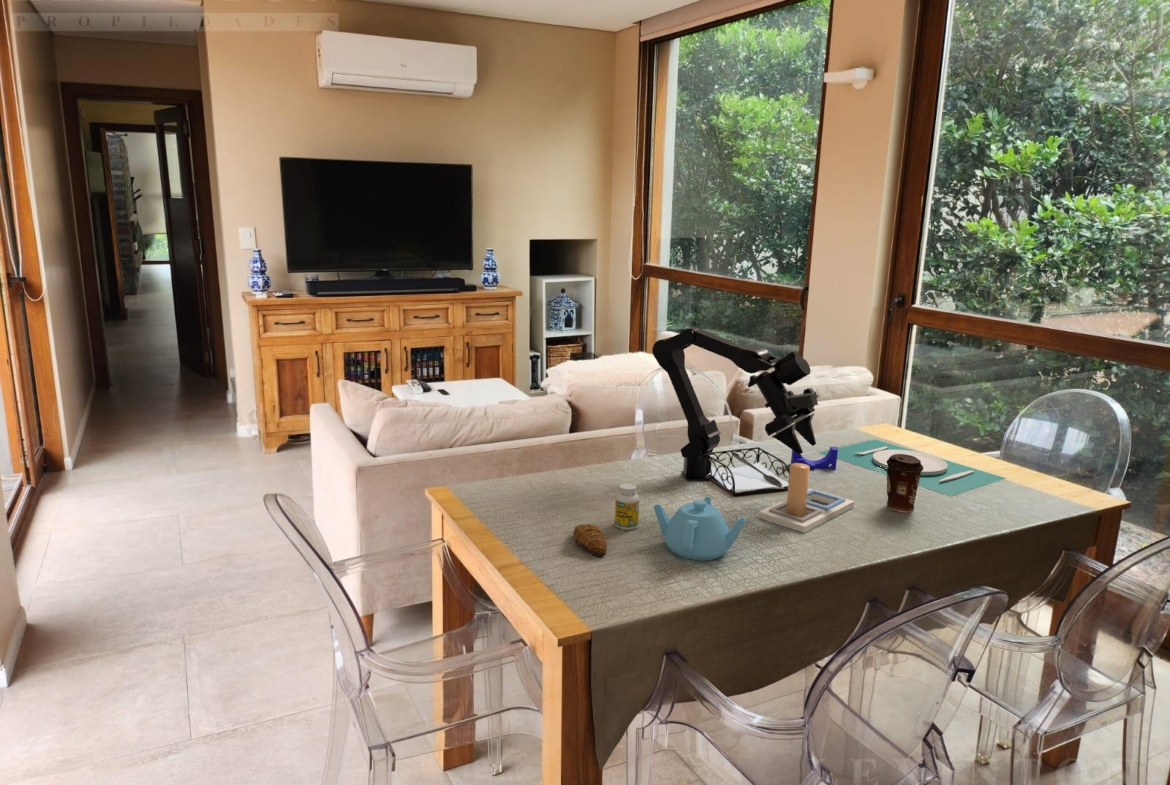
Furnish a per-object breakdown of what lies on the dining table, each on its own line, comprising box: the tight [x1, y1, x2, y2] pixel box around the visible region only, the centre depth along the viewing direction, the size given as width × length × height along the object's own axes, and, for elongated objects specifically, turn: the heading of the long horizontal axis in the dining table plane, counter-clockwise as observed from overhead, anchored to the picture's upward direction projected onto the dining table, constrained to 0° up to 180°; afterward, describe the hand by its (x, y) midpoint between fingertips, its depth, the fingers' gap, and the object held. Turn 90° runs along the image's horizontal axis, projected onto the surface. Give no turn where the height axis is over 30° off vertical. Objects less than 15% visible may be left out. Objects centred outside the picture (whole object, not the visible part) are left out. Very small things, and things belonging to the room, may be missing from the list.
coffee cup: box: [886, 454, 923, 514], centre depth 200 cm, size 9×8×13 cm
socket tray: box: [758, 488, 855, 534], centre depth 197 cm, size 24×12×2 cm, turn 136°
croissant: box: [572, 523, 608, 557], centre depth 174 cm, size 14×7×5 cm, turn 23°
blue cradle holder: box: [790, 446, 838, 471], centre depth 230 cm, size 12×4×6 cm, turn 84°
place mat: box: [818, 439, 1007, 497], centre depth 235 cm, size 45×30×2 cm
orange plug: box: [785, 463, 811, 518], centre depth 191 cm, size 4×4×13 cm
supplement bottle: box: [614, 482, 640, 531], centre depth 184 cm, size 5×5×10 cm
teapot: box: [652, 496, 747, 561], centre depth 173 cm, size 15×15×11 cm
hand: (807, 449), depth 200 cm, fingers open, 9 cm apart
